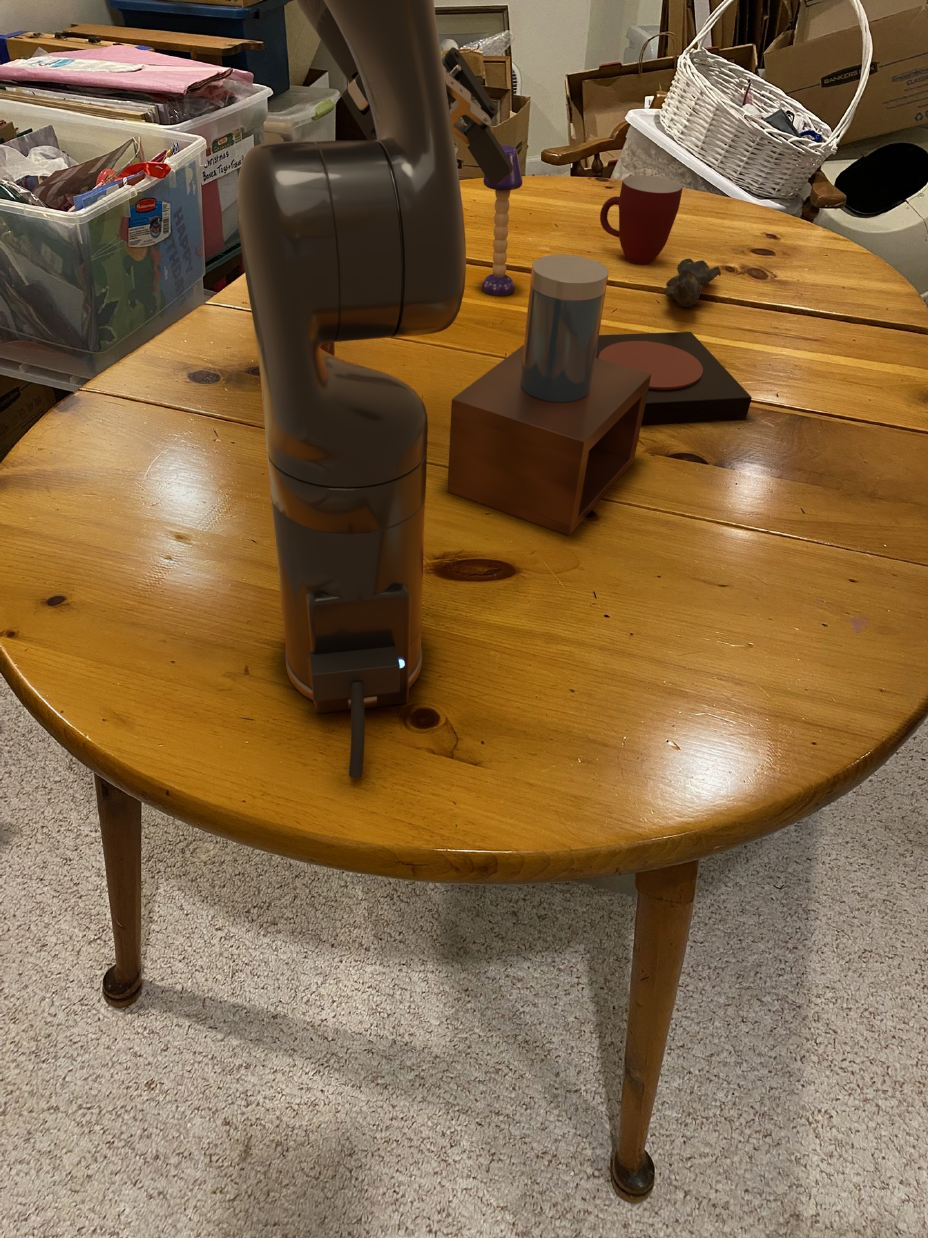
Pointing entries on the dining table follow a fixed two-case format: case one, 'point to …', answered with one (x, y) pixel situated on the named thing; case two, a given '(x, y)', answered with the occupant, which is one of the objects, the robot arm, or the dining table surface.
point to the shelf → (544, 443)
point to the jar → (562, 327)
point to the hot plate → (678, 377)
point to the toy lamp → (502, 227)
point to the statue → (690, 281)
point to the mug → (644, 215)
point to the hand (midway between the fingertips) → (478, 190)
